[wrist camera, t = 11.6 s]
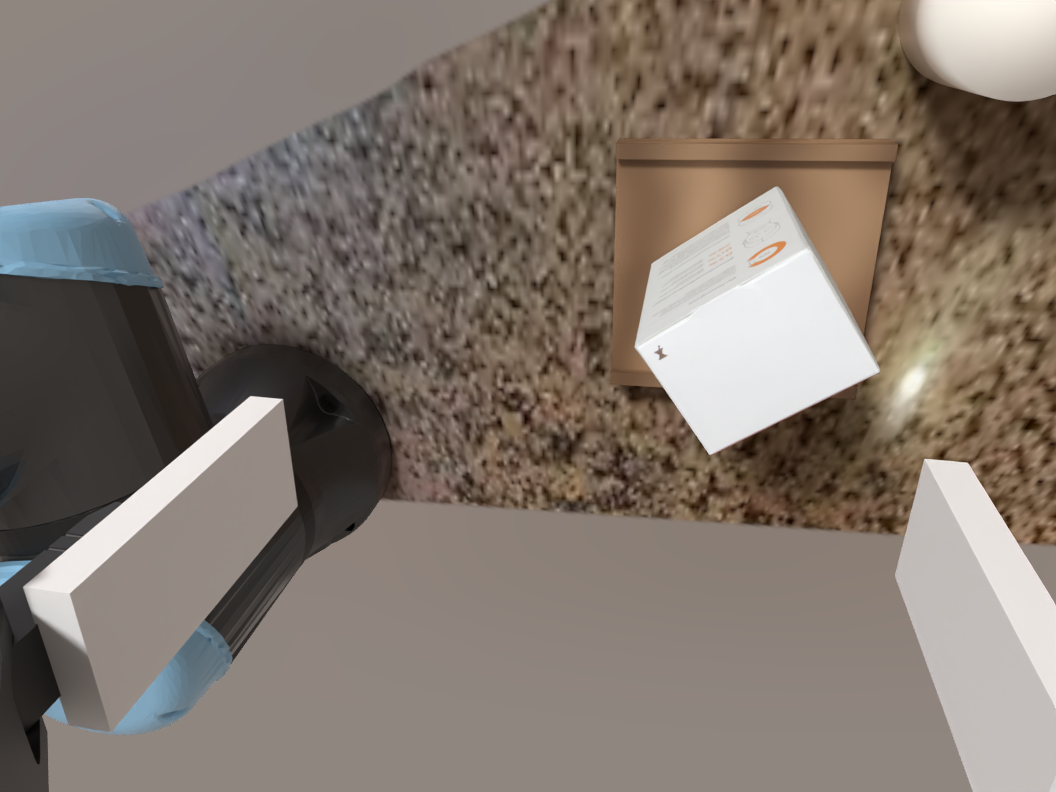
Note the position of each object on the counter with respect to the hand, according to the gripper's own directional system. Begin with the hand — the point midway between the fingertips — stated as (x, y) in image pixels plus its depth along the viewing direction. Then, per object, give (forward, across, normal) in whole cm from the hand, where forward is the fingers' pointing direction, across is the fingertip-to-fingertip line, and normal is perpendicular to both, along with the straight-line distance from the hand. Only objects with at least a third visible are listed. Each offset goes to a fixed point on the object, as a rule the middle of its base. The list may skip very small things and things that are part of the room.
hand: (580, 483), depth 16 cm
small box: (+30, +5, -4) cm, 31 cm away
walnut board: (+32, +5, -4) cm, 32 cm away
